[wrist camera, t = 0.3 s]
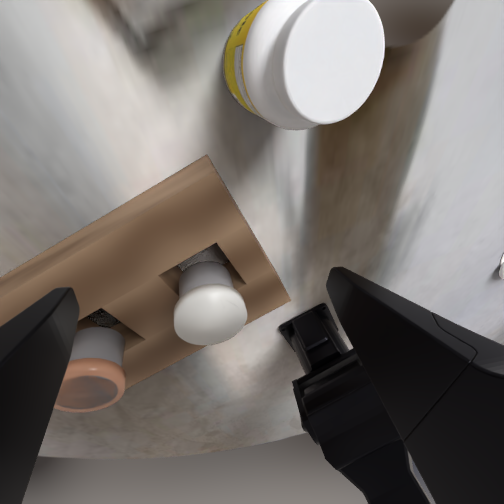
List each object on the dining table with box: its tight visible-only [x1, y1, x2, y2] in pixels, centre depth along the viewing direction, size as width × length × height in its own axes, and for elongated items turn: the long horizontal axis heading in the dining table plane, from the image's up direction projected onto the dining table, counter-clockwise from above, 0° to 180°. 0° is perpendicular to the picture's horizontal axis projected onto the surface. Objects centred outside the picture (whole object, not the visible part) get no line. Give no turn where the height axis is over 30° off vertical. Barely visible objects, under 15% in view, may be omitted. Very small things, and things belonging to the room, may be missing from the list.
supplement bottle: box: [223, 0, 385, 130], centre depth 14 cm, size 5×5×10 cm
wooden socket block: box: [0, 155, 291, 390], centre depth 23 cm, size 14×20×4 cm
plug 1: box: [54, 327, 126, 412], centre depth 20 cm, size 5×5×4 cm
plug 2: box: [174, 261, 247, 345], centre depth 19 cm, size 5×5×4 cm
